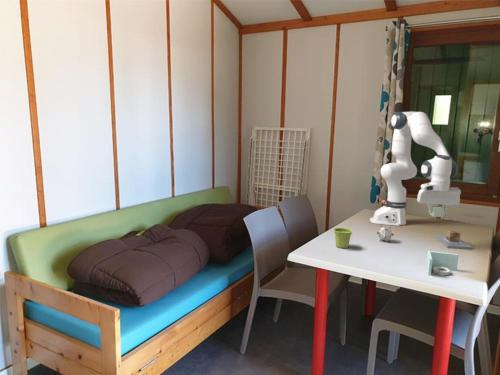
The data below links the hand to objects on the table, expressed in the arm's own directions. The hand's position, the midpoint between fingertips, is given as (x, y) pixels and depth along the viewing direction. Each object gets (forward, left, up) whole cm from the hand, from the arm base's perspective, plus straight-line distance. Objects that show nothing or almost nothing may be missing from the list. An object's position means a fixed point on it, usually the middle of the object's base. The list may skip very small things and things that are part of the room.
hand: (436, 212), depth 200 cm
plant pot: (-49, -14, -17) cm, 54 cm away
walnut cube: (+11, +5, -16) cm, 20 cm away
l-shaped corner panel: (-9, -42, -18) cm, 47 cm away
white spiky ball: (-25, +1, -17) cm, 30 cm away
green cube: (0, 0, -2) cm, 2 cm away
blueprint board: (+11, +5, -17) cm, 21 cm away
